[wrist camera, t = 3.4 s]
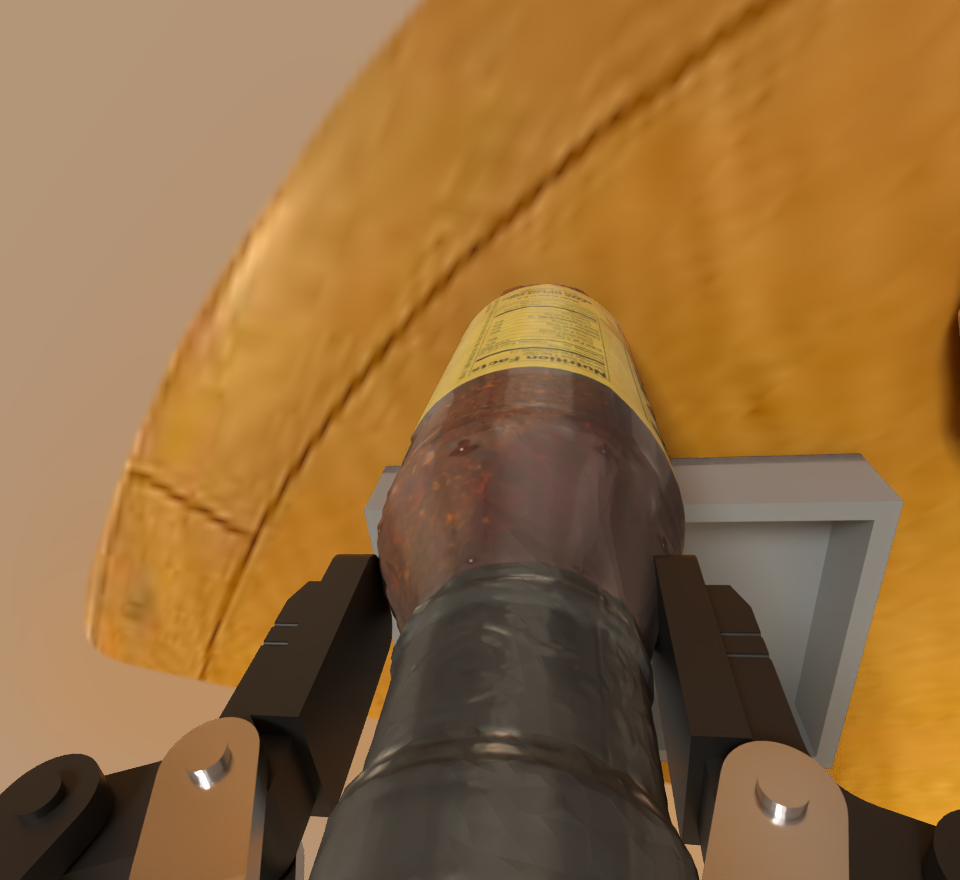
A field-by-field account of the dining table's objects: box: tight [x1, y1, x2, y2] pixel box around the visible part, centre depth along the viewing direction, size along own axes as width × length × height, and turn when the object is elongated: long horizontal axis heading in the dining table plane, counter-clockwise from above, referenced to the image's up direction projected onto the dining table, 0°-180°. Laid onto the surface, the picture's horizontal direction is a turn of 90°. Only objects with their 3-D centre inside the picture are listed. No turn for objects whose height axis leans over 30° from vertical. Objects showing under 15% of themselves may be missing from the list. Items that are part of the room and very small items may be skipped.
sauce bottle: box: [309, 284, 699, 880], centre depth 14 cm, size 7×6×20 cm
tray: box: [364, 454, 904, 769], centre depth 28 cm, size 20×15×4 cm
